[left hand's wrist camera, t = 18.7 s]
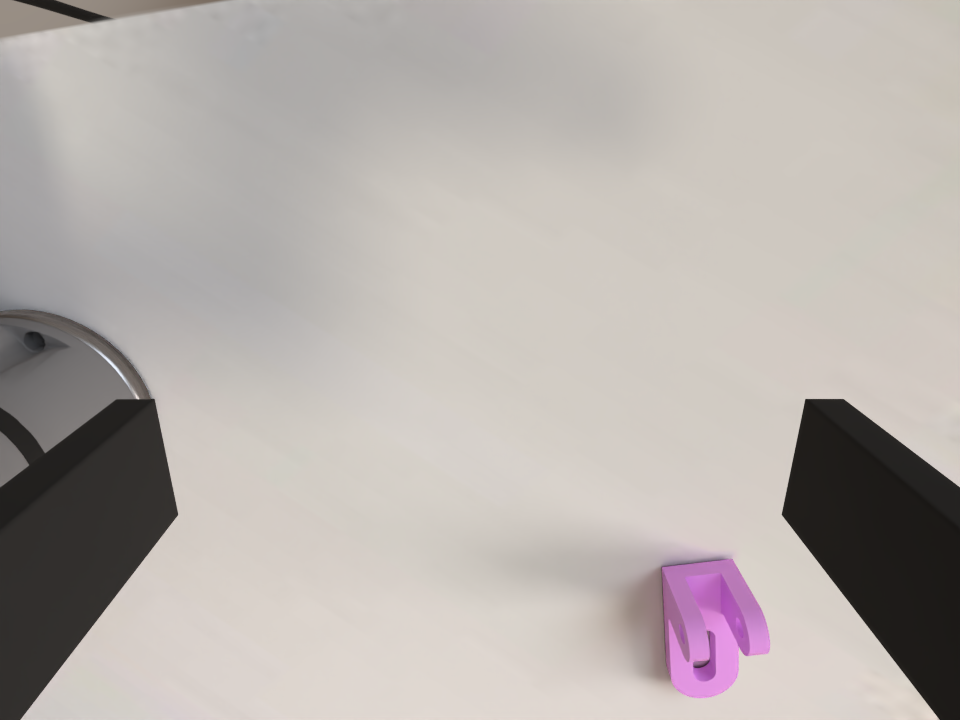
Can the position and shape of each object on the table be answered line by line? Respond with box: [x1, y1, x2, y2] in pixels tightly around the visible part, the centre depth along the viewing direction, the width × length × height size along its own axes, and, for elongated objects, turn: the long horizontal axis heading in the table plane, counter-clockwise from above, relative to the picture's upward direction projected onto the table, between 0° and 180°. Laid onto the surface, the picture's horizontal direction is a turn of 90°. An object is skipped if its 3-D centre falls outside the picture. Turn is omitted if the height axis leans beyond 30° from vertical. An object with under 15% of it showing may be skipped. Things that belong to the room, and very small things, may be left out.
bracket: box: [662, 559, 770, 698], centre depth 48 cm, size 13×6×7 cm, turn 8°
